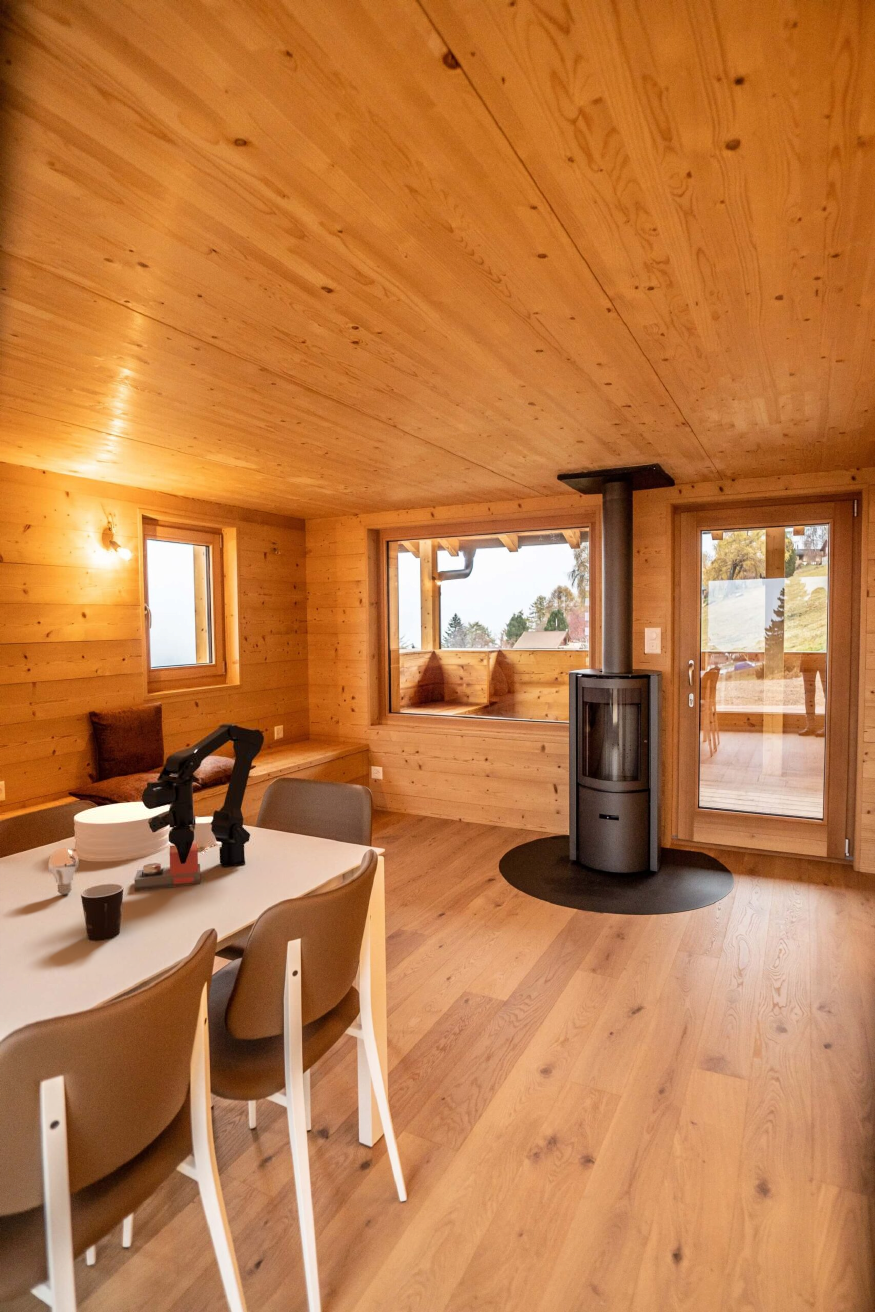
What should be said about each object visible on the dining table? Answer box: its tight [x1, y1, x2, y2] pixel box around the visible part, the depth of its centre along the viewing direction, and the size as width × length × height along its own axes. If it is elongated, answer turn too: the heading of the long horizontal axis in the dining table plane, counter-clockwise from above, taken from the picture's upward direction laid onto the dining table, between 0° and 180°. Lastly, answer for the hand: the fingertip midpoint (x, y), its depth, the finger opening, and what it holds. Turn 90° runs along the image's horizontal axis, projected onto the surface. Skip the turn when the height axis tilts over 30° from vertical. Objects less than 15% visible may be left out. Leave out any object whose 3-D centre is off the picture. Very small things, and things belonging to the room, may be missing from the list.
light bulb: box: [48, 847, 80, 897], centre depth 188 cm, size 7×7×12 cm
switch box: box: [134, 863, 201, 892], centre depth 196 cm, size 16×8×3 cm, turn 107°
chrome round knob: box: [142, 862, 162, 877], centre depth 194 cm, size 4×4×2 cm
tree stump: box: [192, 816, 221, 854], centre depth 232 cm, size 20×19×8 cm
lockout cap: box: [169, 843, 199, 876], centre depth 197 cm, size 7×7×6 cm
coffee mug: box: [80, 883, 124, 942], centre depth 160 cm, size 12×9×10 cm
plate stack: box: [73, 801, 173, 862], centre depth 230 cm, size 28×28×12 cm
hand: (183, 858), depth 197 cm, fingers open, 8 cm apart
